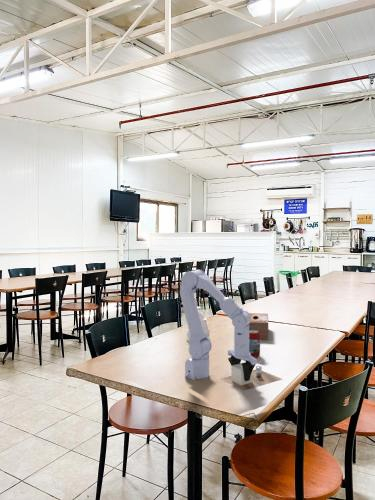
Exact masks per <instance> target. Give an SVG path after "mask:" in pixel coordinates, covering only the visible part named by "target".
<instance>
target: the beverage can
mask: <svg viewBox="0 0 375 500" xmlns="http://www.w3.org/2000/svg"><path fill="white" fill-rule="evenodd" d="M249 353H251V356H252V357H254V358H258V357H259V356H260V355H261V340H260V334H259V331H257V330H249Z"/></svg>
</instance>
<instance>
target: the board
mask: <svg viewBox="0 0 375 500" xmlns="http://www.w3.org/2000/svg"><path fill="white" fill-rule="evenodd" d="M220 380H222V381H224V382H225V383H228V384H230V385H232V386H234V387H236V388H237V389H241V390H242V391H247V390H251V389H253V388H258V387H261V386H264V385H267V384H271V383H274V382H278V381H282V378H281V377H279V376H276V375H274V374H271V373H270V372H269V373H268V372H266V371H263V370H262V377H261V378H257V377H256V369H253V370H252V382H251V383H248V384H244V385H239V384H237V383H235V382H233V381H232V375H230V376H226V377H223V378H220Z"/></svg>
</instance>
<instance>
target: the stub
mask: <svg viewBox="0 0 375 500" xmlns="http://www.w3.org/2000/svg"><path fill="white" fill-rule="evenodd" d="M262 369H263V368H262V365H257V366H256V365H255V370H256V377H257V378H261V377H262V371H263V370H262Z"/></svg>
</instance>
